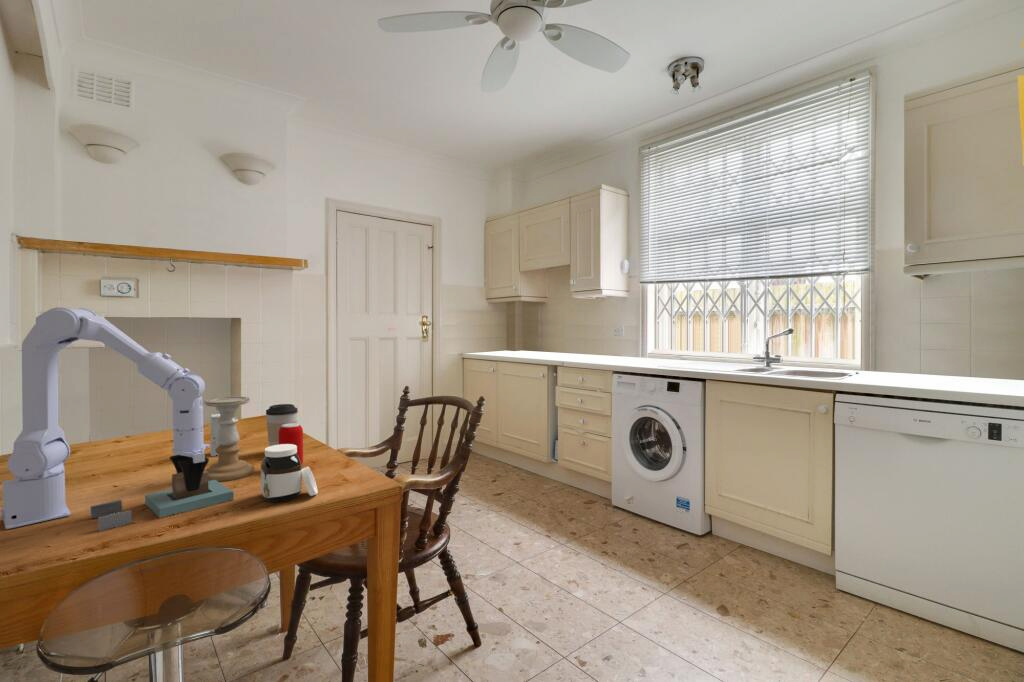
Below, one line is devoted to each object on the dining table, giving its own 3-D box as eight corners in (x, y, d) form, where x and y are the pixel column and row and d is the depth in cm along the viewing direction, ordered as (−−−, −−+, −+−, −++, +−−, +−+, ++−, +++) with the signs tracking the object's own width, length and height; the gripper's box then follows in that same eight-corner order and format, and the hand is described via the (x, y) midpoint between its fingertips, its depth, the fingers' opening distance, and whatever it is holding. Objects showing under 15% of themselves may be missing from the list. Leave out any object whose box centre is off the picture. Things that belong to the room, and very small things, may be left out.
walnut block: (208, 493, 111) (208, 472, 110) (177, 500, 106) (177, 478, 106) (202, 489, 113) (202, 468, 113) (172, 496, 109) (171, 474, 109)
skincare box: (210, 456, 145) (210, 416, 145) (210, 453, 149) (209, 414, 149) (234, 453, 149) (233, 414, 148) (233, 450, 152) (232, 412, 152)
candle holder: (257, 465, 137) (256, 394, 136) (250, 479, 126) (249, 401, 125) (207, 469, 133) (206, 396, 132) (195, 484, 121) (193, 404, 121)
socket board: (160, 518, 100) (159, 508, 100) (145, 503, 108) (145, 494, 108) (233, 499, 111) (233, 491, 111) (215, 487, 119) (215, 479, 119)
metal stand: (99, 531, 94) (99, 518, 94) (90, 517, 100) (90, 506, 100) (131, 523, 98) (131, 511, 98) (120, 510, 104) (120, 499, 104)
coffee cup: (266, 450, 153) (266, 403, 152) (298, 447, 157) (297, 401, 156) (265, 457, 145) (264, 408, 144) (298, 454, 149) (298, 405, 148)
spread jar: (256, 495, 114) (256, 446, 114) (305, 484, 122) (304, 438, 122) (274, 509, 106) (273, 457, 105) (325, 496, 114) (325, 447, 113)
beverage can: (280, 464, 138) (280, 423, 137) (304, 463, 140) (303, 421, 139) (277, 471, 132) (276, 427, 132) (302, 469, 134) (301, 426, 134)
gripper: (219, 430, 107) (220, 490, 108) (198, 421, 117) (199, 476, 117) (182, 435, 102) (183, 499, 103) (163, 425, 111) (164, 483, 112)
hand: (189, 487), depth 110 cm, fingers closed on walnut block, 4 cm apart
